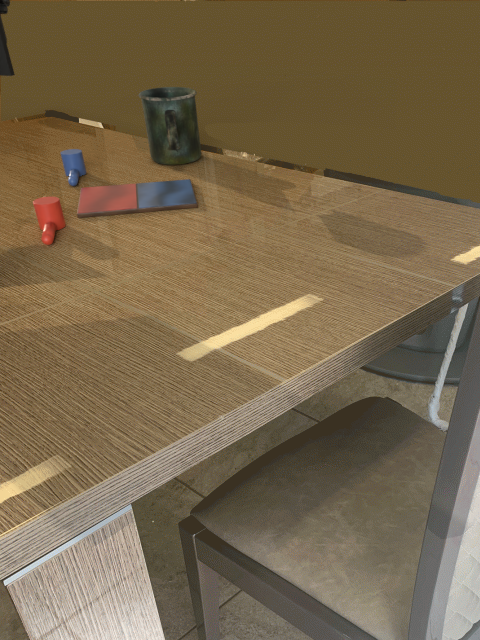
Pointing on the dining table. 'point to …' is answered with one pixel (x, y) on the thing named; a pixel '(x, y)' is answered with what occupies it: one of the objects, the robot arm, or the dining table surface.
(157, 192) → the sorting board
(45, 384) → the dining table surface
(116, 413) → the dining table surface
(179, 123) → the mug
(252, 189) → the dining table surface
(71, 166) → the blue knobbed cylinder
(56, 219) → the red cylinder with knob
